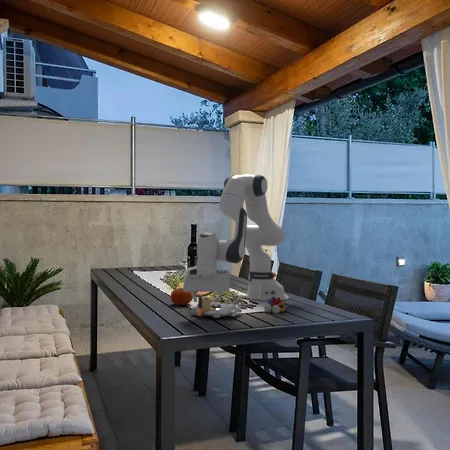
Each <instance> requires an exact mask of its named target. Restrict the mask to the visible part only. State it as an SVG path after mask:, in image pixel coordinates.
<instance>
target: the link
mask: <svg viewBox="0 0 450 450" xmlns="http://www.w3.org/2000/svg"><path fill="white" fill-rule="evenodd" d="M211 301H212V299H211V297H210V296H205V295H203V297H202V310H211V303H212V302H211Z"/></svg>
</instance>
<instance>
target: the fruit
mask: <svg viewBox="0 0 450 450" xmlns="http://www.w3.org/2000/svg"><path fill="white" fill-rule="evenodd" d="M192 300H193V296H192V295H191V292H185V291H184V290H183V287H179V288H174V289H173V290H172V291H171V293H170V301H171V302H172V304H174V305H177V306H185V305H188V304H190V303H191V302H192Z"/></svg>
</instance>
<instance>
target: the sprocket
mask: <svg viewBox="0 0 450 450" xmlns="http://www.w3.org/2000/svg"><path fill="white" fill-rule="evenodd" d="M202 297H204V295H202V294H201V295H198V297H197V303H196V306H193V305H192V306H191V313H196V316H199V317H203V316H205V317H212V318H221V317H228V316H229V317H236V316H237V314H241V312H242V311H241V306H235V304H234V303H219V302H215V301H214V302H211V310H202Z"/></svg>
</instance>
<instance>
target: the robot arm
mask: <svg viewBox="0 0 450 450" xmlns="http://www.w3.org/2000/svg"><path fill="white" fill-rule="evenodd" d="M267 191H268V180H267V179H266V177H265V176H264V175H261V174H251V173H249V174H248V173H245V174H236V175H235V174H231V175H229V176H227V177H226V178H225V179H224V182H223V191H222V192H221V196H220V199H219V203H218V208H219V210H220V212H221V214H223V216H225V217H226V218H228V219H230V220H232V221H234V222H235V223H234V224H235V227H234V235H233V236H234V237H233V238H232V239H230V240H229V239H221V238H218V237H217V234H216V233H215V232H211V231H210V232H202V233H200V234H199V235H198V238H197V243H196V244H197V245H196V255H197V260H196V265H195V266H190V267H189V268H187V269H186V270H185V271H186V274H185V275H184V278H183V283H182V288H183V290H184V291H185V292H191V295H192V299H193V303H198V297H197V296H195V293H197V292H198V293H199V292H200V293H201V292H202V293H203V292H205V293H206V292H207V293H210V292H212V293H214V292H216V293H218V295H217V297H216V296H215V297H214V299H215V301H214V303H219V302H220V297H221V296H222V293H223V292H227V293H228V292H229V291H230V290H231V286H230V285H231V284H230V280H231V272H230V271H229V270H227V269H223V270H221V269H218V261H219V262H223V263H224V262H225V263H226V262H227V263H232V264H239V263H241V261H243V259H244V258H245V256H246V250H247V253H248V256H249V257H248V258H249V271H248V281H249V282H248V288H247V292H246V295H245V296H246V298H247V299H250V300H254V301H255V300H257V301H262V302H263V301H264V302H267V299H271V298H272V296H274V297H275V298H276V299H277V298H278V297H279V298H280V301H288V300H289V299H290V298H289V297H290V296H288V295H287V294H285V289H284V286H283V285H282V284H281V283H280V282H278V281H277V280H276V279H275V278H276V277H277V273H276V272H273V271H271V267H272V266H271V265H272V262H271V261H272V259H271V257H270V254H268V253H267V252H266V251H264V250H263V248H262V246H263V247H265V246H267V247H274V246H280V245H281V244H283V242H284V241H285V237H286V236H285V235H286V234H285V230H284V228H283V227H281V226H280V225H278V224H277V223H276V222H275V221H274V220H273V218H272V216H271V215H270V213H269V212H270V211H269V207H268V202H267V197H266V193H267ZM244 204H245V208H244ZM248 219H249V220H250V221H251V222H253V223H254V224H253V223H252V224H248Z"/></svg>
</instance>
